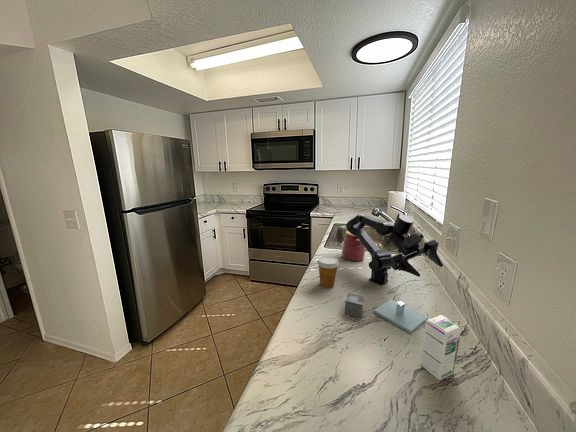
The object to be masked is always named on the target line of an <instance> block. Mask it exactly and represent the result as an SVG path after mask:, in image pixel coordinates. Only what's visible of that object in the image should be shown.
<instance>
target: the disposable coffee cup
mask: <svg viewBox="0 0 576 432" xmlns="http://www.w3.org/2000/svg"><path fill="white" fill-rule="evenodd" d="M316 263H317V266H318V273H319V284H320V286H321V287H323V288H327V289H329V288H333V287H334V286H335V283H336V277H337V270H338V267H339V264H340V262H339V259H338V258H336V257H333V256H331V255H330V256H329V255H328V256H327V255H324V256H320V257H319V258H318V259H317V262H316Z"/></svg>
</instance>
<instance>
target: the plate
mask: <svg viewBox="0 0 576 432" xmlns="http://www.w3.org/2000/svg"><path fill="white" fill-rule="evenodd" d="M397 302H398V301H396V300H395V299H389V300H388V301H386V302H384V303H383V304H381V305H379V306H378V307H376V308H374V309H373V313H374V314H375V315H378V316H379V317H381V318H383V319H384V320H386V321H388V322H390V323H392V324H393V325H395V326H397V327H398V328H400V329H401V330H404V331H406V332H408V333H409V334H412V333H414V332H415V331H416V330H417V329H418V328H419V327H421V326H422V325H423V324H424V323H426V320H428V319H429V317H428V316H427V315H425V314H423V313H421V312H419V311H417V310H415V309H413V308H410V307H409V306H406V305H405V308H404V313H403V314H402V315H398V314H396V306H397Z"/></svg>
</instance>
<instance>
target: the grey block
mask: <svg viewBox="0 0 576 432" xmlns="http://www.w3.org/2000/svg"><path fill="white" fill-rule="evenodd" d="M364 305H365V295H364V296H363V295H359V294H354V293H350V292H348V293H347V295H346V299H345V302H344V314H346V315H351V316H355V317H359V318H362V316H363V311H364Z"/></svg>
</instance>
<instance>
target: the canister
mask: <svg viewBox="0 0 576 432" xmlns="http://www.w3.org/2000/svg"><path fill="white" fill-rule="evenodd" d="M343 237H344V239H343V241H342V250H341V256H342V257H343V258H344V259H347V260H349V261H350V260H351V261H356V262H358V261H363V260H364V258H365V256H366V255H365V252H366V248H365V246H364V245H363V244H362V243H361V241H360V240H359V239H358V238H357V236H355V235H353V234H351V233H350V232H348V230H346V231H345V234H344V235H343Z"/></svg>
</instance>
